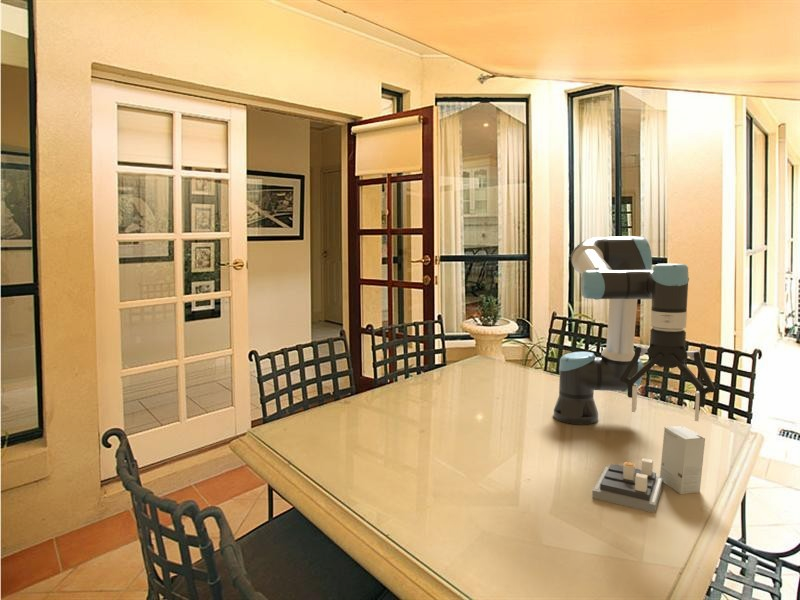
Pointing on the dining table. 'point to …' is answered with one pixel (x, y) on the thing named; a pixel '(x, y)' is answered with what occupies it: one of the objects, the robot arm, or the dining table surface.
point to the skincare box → (682, 459)
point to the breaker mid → (629, 471)
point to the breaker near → (641, 482)
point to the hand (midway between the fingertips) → (664, 415)
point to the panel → (628, 499)
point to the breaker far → (646, 466)
